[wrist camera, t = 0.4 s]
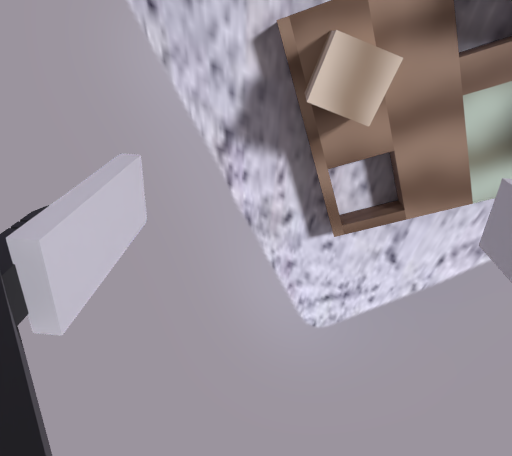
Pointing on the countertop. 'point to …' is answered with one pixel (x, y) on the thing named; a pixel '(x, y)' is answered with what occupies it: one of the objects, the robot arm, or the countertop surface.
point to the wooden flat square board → (410, 107)
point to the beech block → (351, 77)
